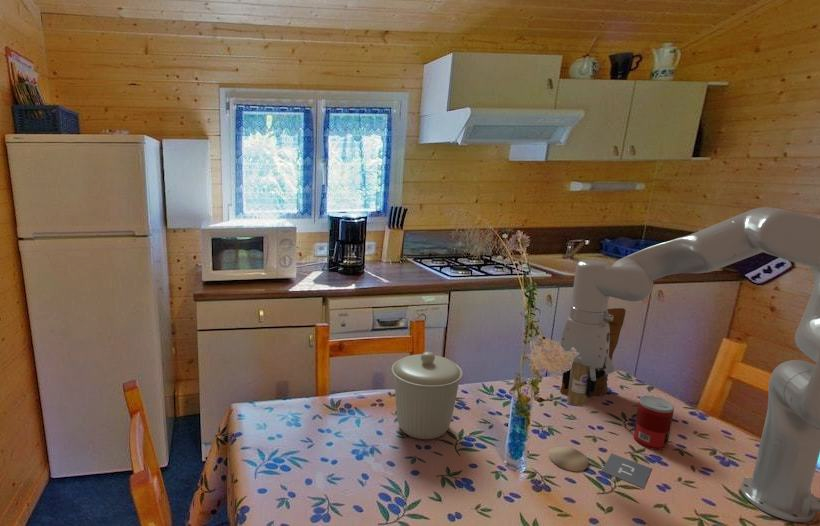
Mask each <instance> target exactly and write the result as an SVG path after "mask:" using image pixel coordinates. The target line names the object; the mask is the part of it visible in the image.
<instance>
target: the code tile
mask: <svg viewBox="0 0 820 526" xmlns="http://www.w3.org/2000/svg"><path fill="white" fill-rule="evenodd" d="M601 472H602V473H605V474H607V475H609V476H612V477H615V478H616V479H619V480H622V481H623V482H627V483H629V484H632V485H634V486H636V487H640V488H642V489H645V486H646V483H647V481H648V479H649V477H650V473H651V472H652V467H649V466H647V465H643V464H641V463H639V462H635V461H633V460H631V459H628V458H626V457H622V456H620V455H617V454H615V453H612V452H610V455H609V456H608V459H607V461H606V462H605V464H604V466H603V467H602V469H601Z"/></svg>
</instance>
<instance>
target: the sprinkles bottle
mask: <svg viewBox="0 0 820 526" xmlns="http://www.w3.org/2000/svg"><path fill="white" fill-rule="evenodd" d="M577 358H578V359H582V358H581V357H580V356H578V357H577ZM580 361H581V360H580ZM589 378H590V368H589V367H588V366H585V365H582V364H581V362H577V363H574V362H573V364H572V368H571V369H570V377H569V386H568V388H569V389H568V395H567V397H566V402H567V403H568V404H570V405H571V406H574V407H579V408H581V407H585V406H587V403H588V396H587V395H586V390H587V382H588V379H589Z"/></svg>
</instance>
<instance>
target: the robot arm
mask: <svg viewBox="0 0 820 526" xmlns="http://www.w3.org/2000/svg"><path fill="white" fill-rule="evenodd" d="M762 253H765V254H767V255H770V256H774V257H777V258H779V259H783V260H784V261H785V260H786V261H789V262H793V263H796V264H799V265H802V266H806V267H809V268H810V270H811V272H812V273H811V274H812V277H813V287H812V289H811V293H810V296H809V300H808V302H807V305H806V306H805V309H804V313H803V315H802V317H801V320H800V322H799V324H798V327H797V329H796V332H795V334H794V335H795V336H794V341H795V344H796V347H797V348H798V349H799V350H800V351H801V352H802V353H803V354H804V355H805V356H806V357H808V358H809V359H810V360H812V361H813V362H815V363H812V362H809V361H807V360H801V359H790V360H787V361H784V362H781V363H779V364H778V365H777V366H776V367H775V368H774V369H773V370H772V372H771V374H770V377H769V381H768V401H767V412H766V415H765V421H764V426H763V429H762V432H761V433H762V434H761V438H760V441H759V447H758V451H757V456H756V460H755V463H754V464H755V465H754V469H753V473H752V477H750V478H745V479H743V481H742V482H741V484H740V485H741V486H740V489H741V492H742V494H743V496H744V498H746V499H747V501H749V503H751V504H752V505H753V506H755V507H757V508H758V509H760V510H762V511H763V512H765V513H767V514H769V515H771V516H774V517H776V518H778V519H782V520H786V521H787V522H794V523H808V522H811V521H813V519H814V518H815V515H816V512H820V497H818V496H816V495H814V493H812V491H811V490H812V489H811V488H812V485H813V480H814V477H815V474H816V469H817V466H818V462H819V457H820V218H817V217H814V216H810V215H806V214H803V213H800V212H796V211H794V210H787V209H784V208H776V207H770V206H761V207H757V208H751V209H750V210H748V211H745V212H743V213H740V214H737V215H735V216H733V217H730V218H728V219H725V220H722V221H720V222H718V223H716V224H713V225H711V226H708V227H706V228H703V229H701V230H699V231H696V232H693V233H691V234H688V235H684V236H681V237H677V238H674V239H671V240H668V241H664V242H661V243H658V244H655V245H651V246H649V247H646V248H643V249H641V250H638V251H636V252H633V253H631V254H628V255H626V256H624V257H622V258H620V259H617V260H616V261H615V262H614V263H613V264H612V265H611V264H610V263H609V262H606V261H605V260H604V261H603V260H598V259H582V260H579V261H578V262H577V263H576V265H575V271H574V279H573V288H572V295H571V297H572V298H571V304H570V305H571V306H570V312H569V315H568V316H567V317H566V319H565V323H564V325H563V329H562V333H561V337H560V341H559V345H560V344H561V346H562V347H563V348H564V350H565V351H570V350H571V348H572V347H574V348H575V349H576V350H577V352H579V353H580V354H579V355H578V356H580V357H581V358H582V359H578V358H577V357H578V356H577V357H576V358H575V359H574V361H573V362H574V363H577V362H581V364H582V365H585V366H588V367H589V368H590V378H589V379H588V382H587V390H586V395H587V398H588V397H590V395H591V394H592V392H593V393H594V392H595V390H596V383H597V379H599V378H600V377H602V376H604V375H606V374H608V375H610V374H612V373H615V371H616V366H615V365H614V363H613V360H612V361H611V360H610V358H609V344H610V328H609V324H608V323H606V321H613V315H610V314H608V310H607V309H608V307H609V306H608V305H609V300H610V299H609V298H615V299H618V300H622V301H627V302H640V301H643V300H646V299H647V298H648V297H649V296H650V295H651V293H652V291H653V287H654V281H655V280H658V279H661V278H663V277H667V276H670V275H671V276H672V275H677V274H704V273H712V272H713V271H716V270H719V269H722V268H724V267H727V266H730V265H732V264H735V263H737V262H740V261H743V260H745V259H748V258H751V257H753V256H754V257H755V255H759V254H762ZM580 360H581V361H580ZM604 364H605V366H606V368H603V369H601V370H599V369H600V368H602V367H603V365H604ZM562 376H563V382H562V381H561V382H562V383H563V384H564V389H568V386H569V377H570V370H569V371H565V372H564V374H563V373H562ZM562 383H561V384H562ZM591 396H592V395H591Z"/></svg>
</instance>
